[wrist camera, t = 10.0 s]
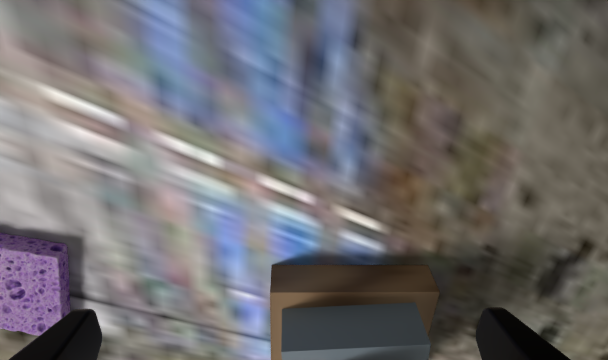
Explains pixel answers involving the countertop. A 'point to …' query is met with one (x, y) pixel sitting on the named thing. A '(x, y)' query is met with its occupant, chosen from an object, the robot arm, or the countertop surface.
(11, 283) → the sponges
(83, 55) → the countertop surface
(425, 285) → the walnut base slab
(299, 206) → the countertop surface
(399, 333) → the slate top slab
